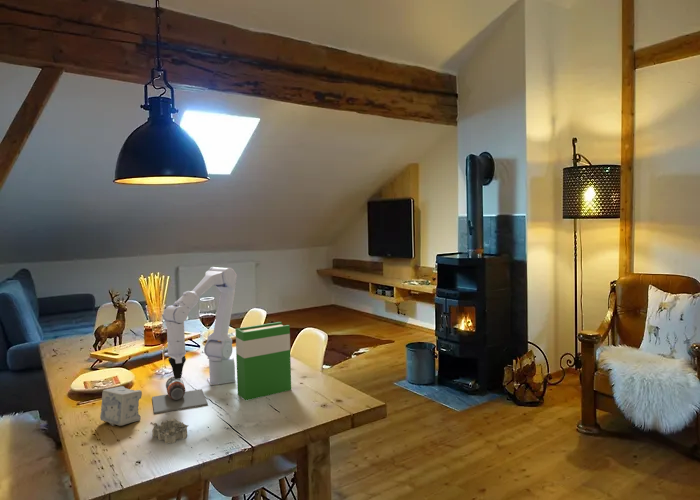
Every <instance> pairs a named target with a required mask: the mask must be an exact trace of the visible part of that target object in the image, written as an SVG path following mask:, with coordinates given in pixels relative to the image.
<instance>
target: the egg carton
mask: <svg viewBox="0 0 700 500" xmlns="http://www.w3.org/2000/svg"><path fill="white" fill-rule="evenodd" d="M150 425H152V426H153V428H152V429H151V430H152V431H151V434H152V437H153V438H155V437H158V440H159V441H163V440H164V443H165V444H174V443H176V441H177V440H180V439H181V440H184V439H186V438H187V436H188V427H189V424H185V423H184V422H182V421H179V420H178V419H177V418H170V419H168V420H166V421H162V422H160V424H159V425H158V423H157V422H150ZM165 430H168V431H165Z"/></svg>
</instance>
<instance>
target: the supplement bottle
mask: <svg viewBox="0 0 700 500" xmlns="http://www.w3.org/2000/svg"><path fill="white" fill-rule="evenodd" d="M165 388H166V392H167V393H166V394H168V396H169V397H170V398H171V399H174V400H178V399H180V398H182V397H183V396H184V394H185V392H186V386H185V384H184V381H183V379H182V377H181V378H178V379H175V378H174V375H173V376H171V377H169V378H168V379H167V380H166V382H165Z"/></svg>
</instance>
